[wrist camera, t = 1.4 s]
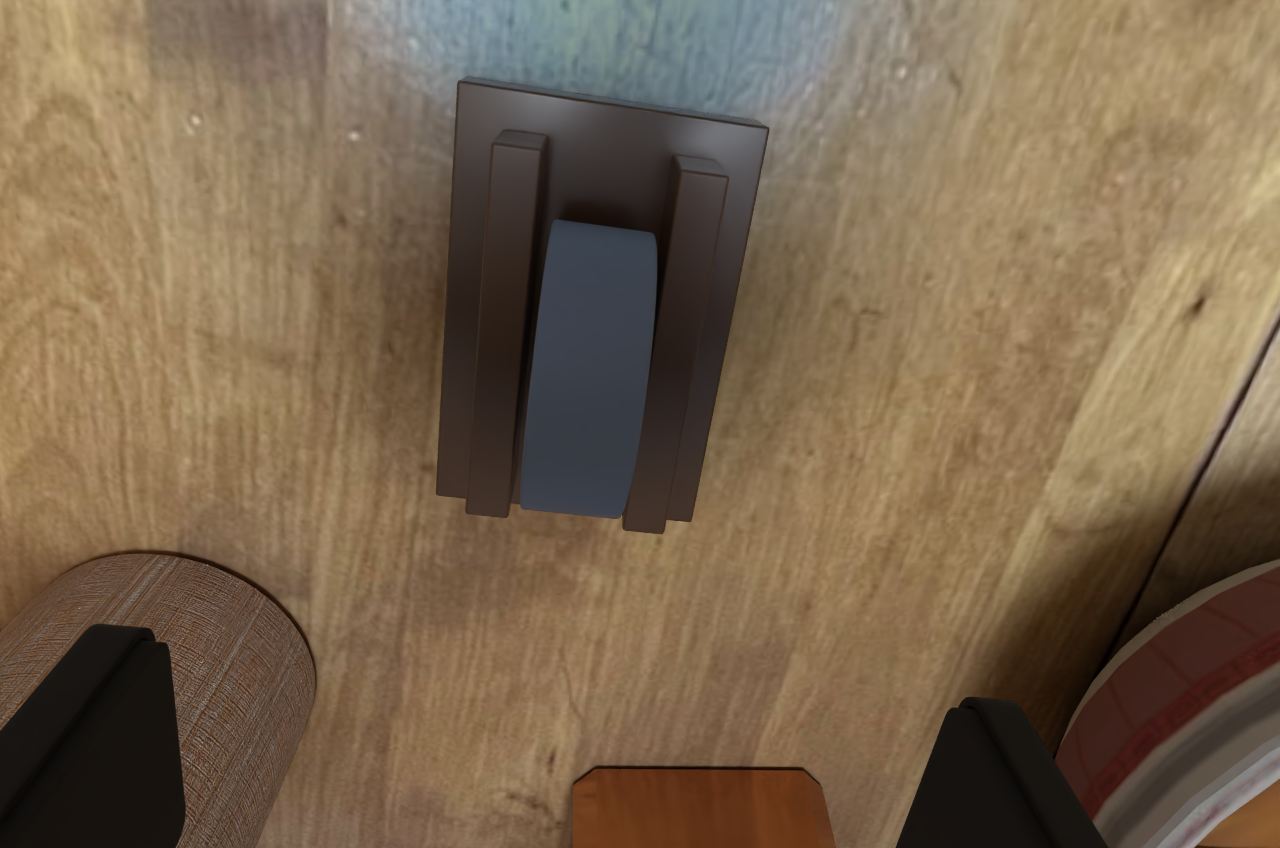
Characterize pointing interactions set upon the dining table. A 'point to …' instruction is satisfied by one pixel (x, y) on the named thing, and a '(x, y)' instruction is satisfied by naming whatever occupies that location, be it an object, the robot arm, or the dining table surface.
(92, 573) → the planter
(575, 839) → the whiskey bottle
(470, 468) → the rack
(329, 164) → the dining table surface
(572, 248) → the disc
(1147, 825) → the bowl
